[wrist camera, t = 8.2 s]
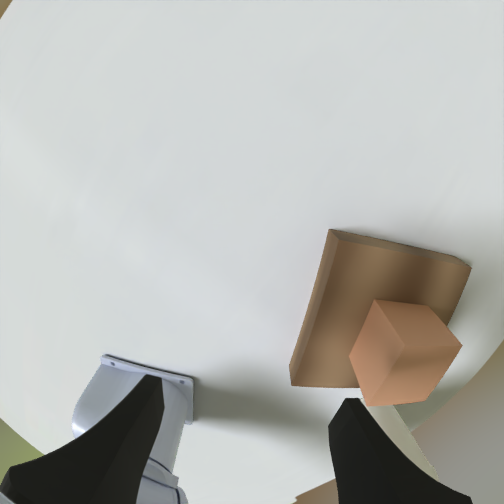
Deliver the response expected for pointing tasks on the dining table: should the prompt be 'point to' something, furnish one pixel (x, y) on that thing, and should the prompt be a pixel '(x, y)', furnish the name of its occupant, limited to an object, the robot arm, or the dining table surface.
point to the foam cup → (400, 436)
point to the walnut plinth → (366, 300)
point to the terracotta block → (401, 353)
